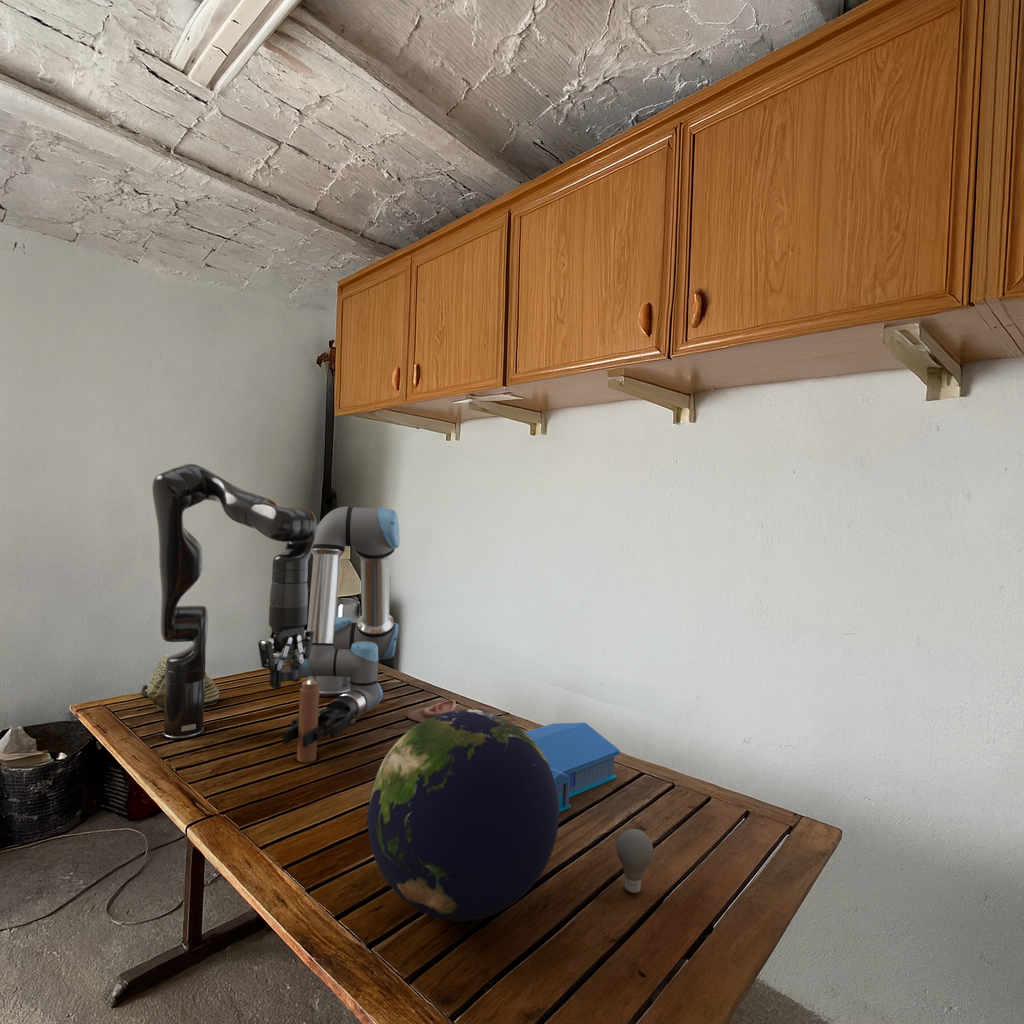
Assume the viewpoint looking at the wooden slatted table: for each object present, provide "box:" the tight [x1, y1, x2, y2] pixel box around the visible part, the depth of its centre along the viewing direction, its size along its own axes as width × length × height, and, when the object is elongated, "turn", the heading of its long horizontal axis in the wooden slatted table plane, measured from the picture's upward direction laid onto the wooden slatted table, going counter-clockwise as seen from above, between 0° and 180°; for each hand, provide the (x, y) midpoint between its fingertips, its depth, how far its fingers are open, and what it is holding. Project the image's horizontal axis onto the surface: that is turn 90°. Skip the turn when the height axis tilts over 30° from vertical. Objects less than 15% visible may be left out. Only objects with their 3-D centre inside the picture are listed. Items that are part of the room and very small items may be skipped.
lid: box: [281, 665, 298, 682], centre depth 132 cm, size 5×5×2 cm
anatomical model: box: [406, 699, 457, 723], centre depth 185 cm, size 13×4×12 cm
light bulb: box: [615, 828, 654, 894], centre depth 106 cm, size 6×6×10 cm
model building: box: [524, 722, 621, 813], centre depth 143 cm, size 39×24×10 cm, turn 132°
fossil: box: [147, 654, 221, 712], centre depth 185 cm, size 9×18×15 cm, turn 132°
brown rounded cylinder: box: [296, 680, 320, 763], centre depth 152 cm, size 4×4×18 cm
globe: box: [367, 709, 560, 922], centre depth 100 cm, size 30×30×30 cm
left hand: (285, 683), depth 132 cm, fingers closed on lid, 5 cm apart
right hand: (294, 739), depth 147 cm, fingers closed on brown rounded cylinder, 4 cm apart
